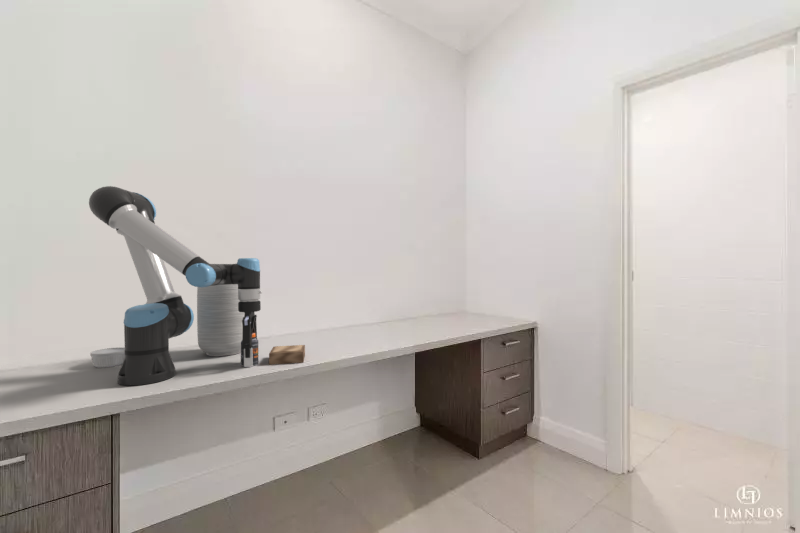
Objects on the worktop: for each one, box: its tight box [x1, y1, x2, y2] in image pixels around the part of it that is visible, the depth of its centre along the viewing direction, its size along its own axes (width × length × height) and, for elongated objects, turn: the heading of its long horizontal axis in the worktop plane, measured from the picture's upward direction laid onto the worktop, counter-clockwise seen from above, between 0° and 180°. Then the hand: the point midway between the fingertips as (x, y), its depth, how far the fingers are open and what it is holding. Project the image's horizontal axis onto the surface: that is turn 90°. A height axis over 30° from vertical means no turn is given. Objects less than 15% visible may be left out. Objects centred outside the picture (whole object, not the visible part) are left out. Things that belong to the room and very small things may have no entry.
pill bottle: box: [240, 333, 259, 367], centre depth 133 cm, size 6×6×11 cm
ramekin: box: [89, 347, 125, 369], centre depth 135 cm, size 11×11×5 cm
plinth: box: [268, 344, 306, 365], centre depth 140 cm, size 12×12×4 cm
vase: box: [196, 284, 245, 357], centre depth 153 cm, size 20×20×34 cm
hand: (250, 363), depth 133 cm, fingers open, 7 cm apart
